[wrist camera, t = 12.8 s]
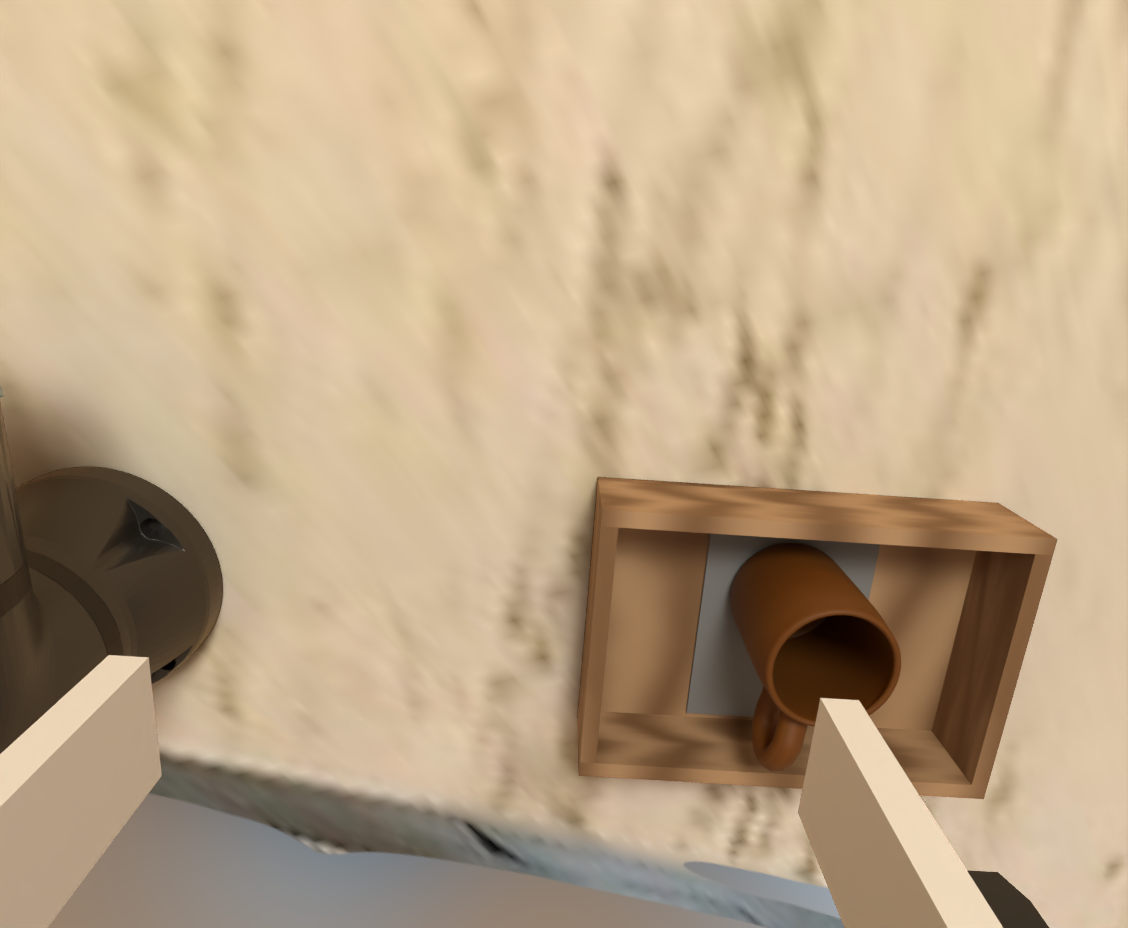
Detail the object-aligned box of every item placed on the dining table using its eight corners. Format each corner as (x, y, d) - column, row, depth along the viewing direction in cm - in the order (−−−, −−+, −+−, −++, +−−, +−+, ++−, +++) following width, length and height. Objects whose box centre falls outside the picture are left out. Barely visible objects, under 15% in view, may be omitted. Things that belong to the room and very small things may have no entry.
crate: (577, 716, 53) (578, 775, 47) (597, 477, 47) (602, 509, 42) (938, 738, 53) (983, 798, 47) (998, 503, 48) (1057, 539, 42)
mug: (788, 708, 51) (835, 808, 42) (685, 678, 51) (711, 773, 42) (861, 557, 48) (930, 631, 39) (753, 523, 47) (797, 590, 38)
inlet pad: (685, 710, 52) (686, 712, 51) (712, 509, 47) (713, 511, 47) (841, 719, 52) (843, 722, 52) (882, 520, 48) (884, 522, 47)
